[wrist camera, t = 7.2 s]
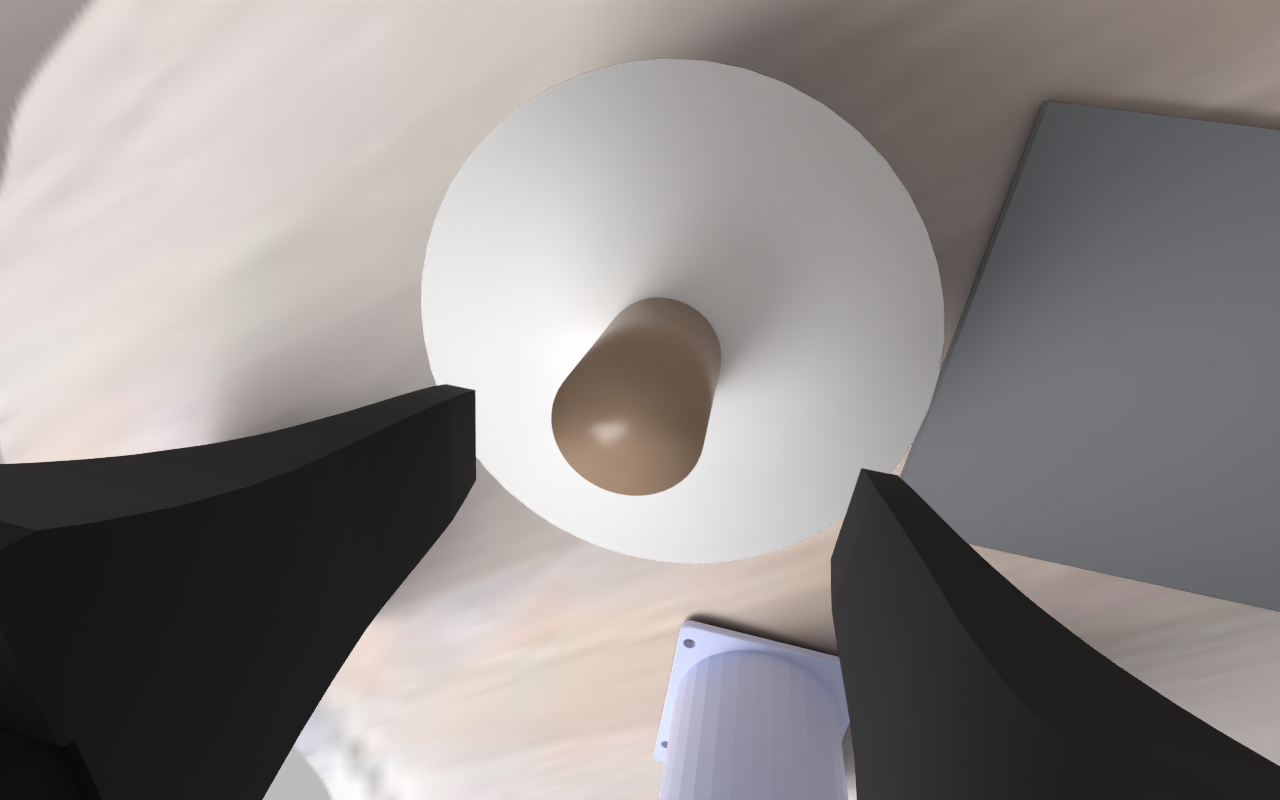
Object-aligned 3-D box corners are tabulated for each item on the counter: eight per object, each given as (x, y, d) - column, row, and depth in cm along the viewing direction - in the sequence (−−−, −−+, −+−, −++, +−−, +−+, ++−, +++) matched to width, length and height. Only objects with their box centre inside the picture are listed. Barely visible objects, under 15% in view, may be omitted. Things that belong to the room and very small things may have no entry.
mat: (1302, 610, 20) (1312, 619, 20) (884, 519, 22) (885, 525, 22) (1666, 180, 14) (1688, 181, 14) (1043, 101, 16) (1049, 100, 16)
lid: (849, 588, 18) (873, 737, 13) (442, 494, 19) (349, 600, 15) (1029, 104, 12) (1171, 95, 8) (427, 28, 14) (269, -14, 9)
